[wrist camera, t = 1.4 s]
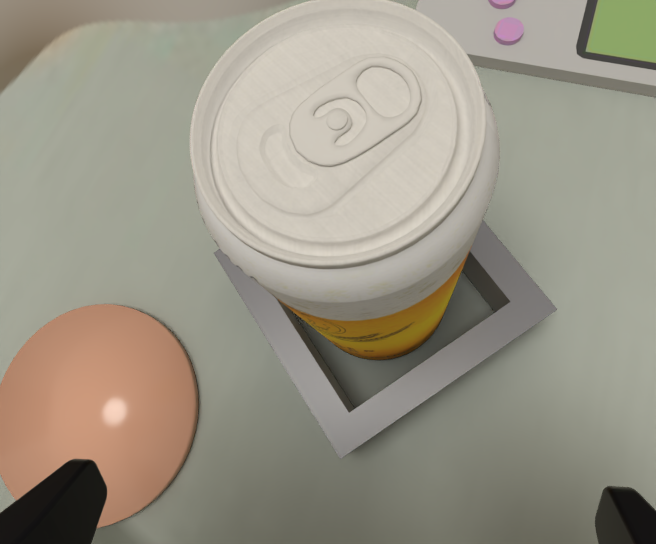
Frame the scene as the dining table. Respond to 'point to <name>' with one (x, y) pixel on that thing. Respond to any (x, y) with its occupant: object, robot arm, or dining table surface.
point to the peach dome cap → (99, 405)
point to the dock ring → (424, 380)
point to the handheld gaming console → (557, 38)
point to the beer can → (347, 167)
